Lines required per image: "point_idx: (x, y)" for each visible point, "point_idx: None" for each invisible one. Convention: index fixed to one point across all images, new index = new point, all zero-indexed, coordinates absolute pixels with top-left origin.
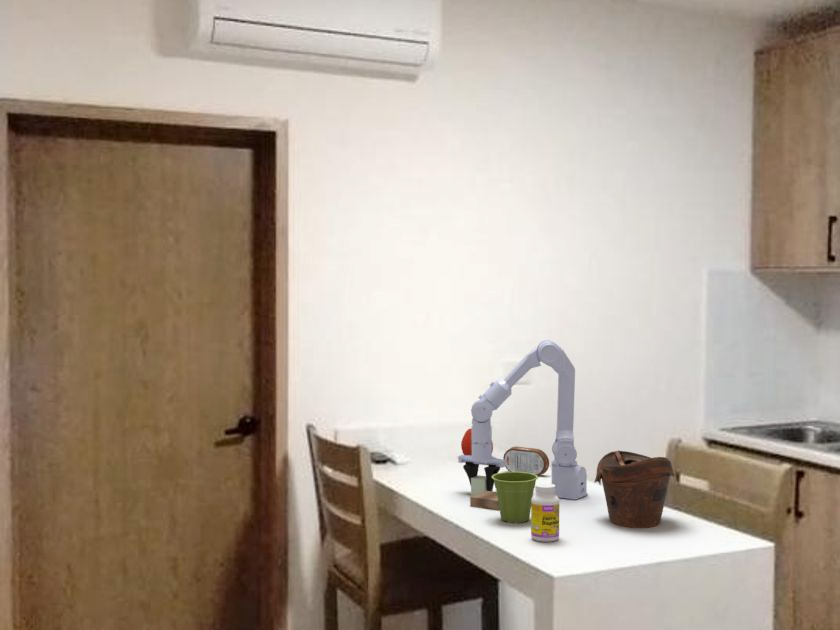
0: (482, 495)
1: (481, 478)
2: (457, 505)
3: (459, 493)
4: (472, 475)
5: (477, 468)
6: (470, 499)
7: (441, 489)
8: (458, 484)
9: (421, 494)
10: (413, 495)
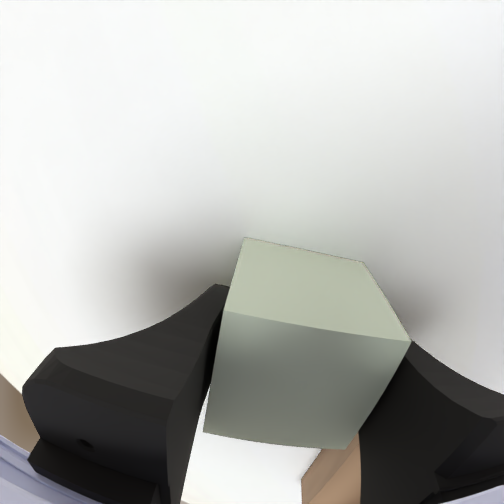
0: (350, 490)
1: (305, 426)
2: (247, 480)
3: (131, 306)
4: (196, 422)
5: (188, 393)
6: (302, 501)
7: (9, 238)
8: (26, 61)
9: (20, 361)
10: (16, 378)
